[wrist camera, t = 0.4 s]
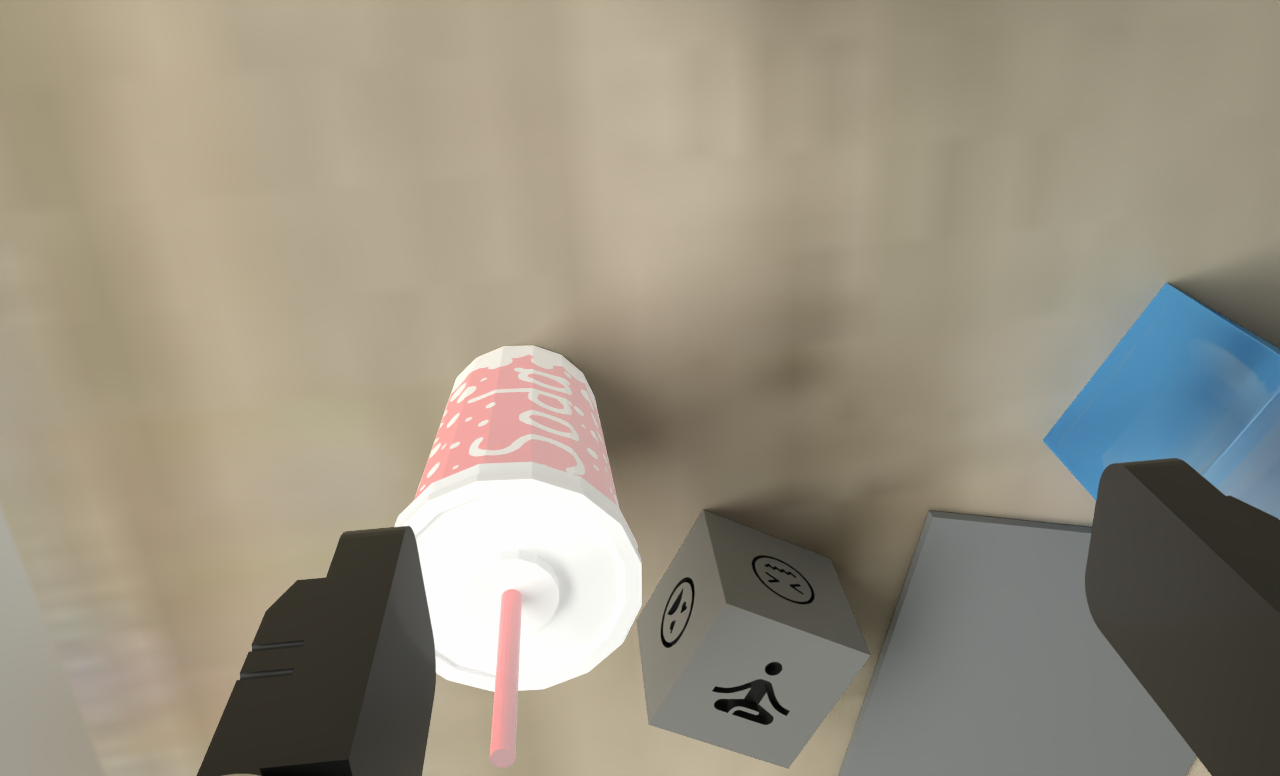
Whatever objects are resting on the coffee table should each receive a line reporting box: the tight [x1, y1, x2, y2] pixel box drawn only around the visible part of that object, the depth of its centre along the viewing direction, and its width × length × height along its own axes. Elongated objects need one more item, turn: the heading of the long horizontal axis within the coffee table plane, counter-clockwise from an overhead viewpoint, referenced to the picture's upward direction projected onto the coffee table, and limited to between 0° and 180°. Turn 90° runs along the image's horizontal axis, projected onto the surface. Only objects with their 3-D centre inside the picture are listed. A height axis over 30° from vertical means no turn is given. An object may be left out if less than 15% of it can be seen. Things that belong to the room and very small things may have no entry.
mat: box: [839, 511, 1196, 776], centre depth 38 cm, size 14×14×1 cm
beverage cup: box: [395, 345, 642, 768], centre depth 25 cm, size 6×6×14 cm
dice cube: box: [637, 510, 871, 768], centre depth 33 cm, size 5×5×5 cm
